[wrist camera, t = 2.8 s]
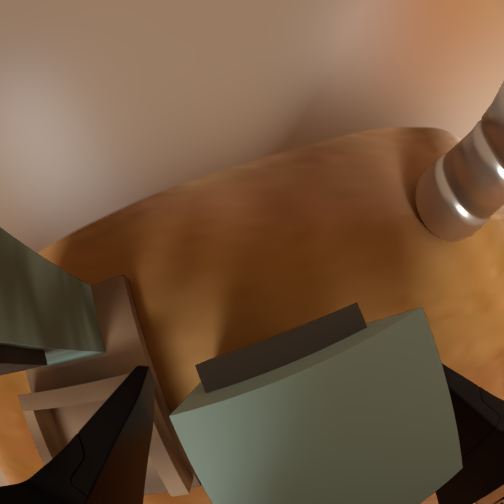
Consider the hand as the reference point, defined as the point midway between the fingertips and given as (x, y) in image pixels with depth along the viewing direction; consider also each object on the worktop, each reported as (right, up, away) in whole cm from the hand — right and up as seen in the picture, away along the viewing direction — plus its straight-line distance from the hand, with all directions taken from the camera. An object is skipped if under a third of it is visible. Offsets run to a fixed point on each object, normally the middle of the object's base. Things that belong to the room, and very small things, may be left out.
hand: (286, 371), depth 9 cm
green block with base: (-11, -5, +4) cm, 12 cm away
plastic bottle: (+14, +7, +11) cm, 19 cm away
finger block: (-1, -4, +6) cm, 7 cm away
